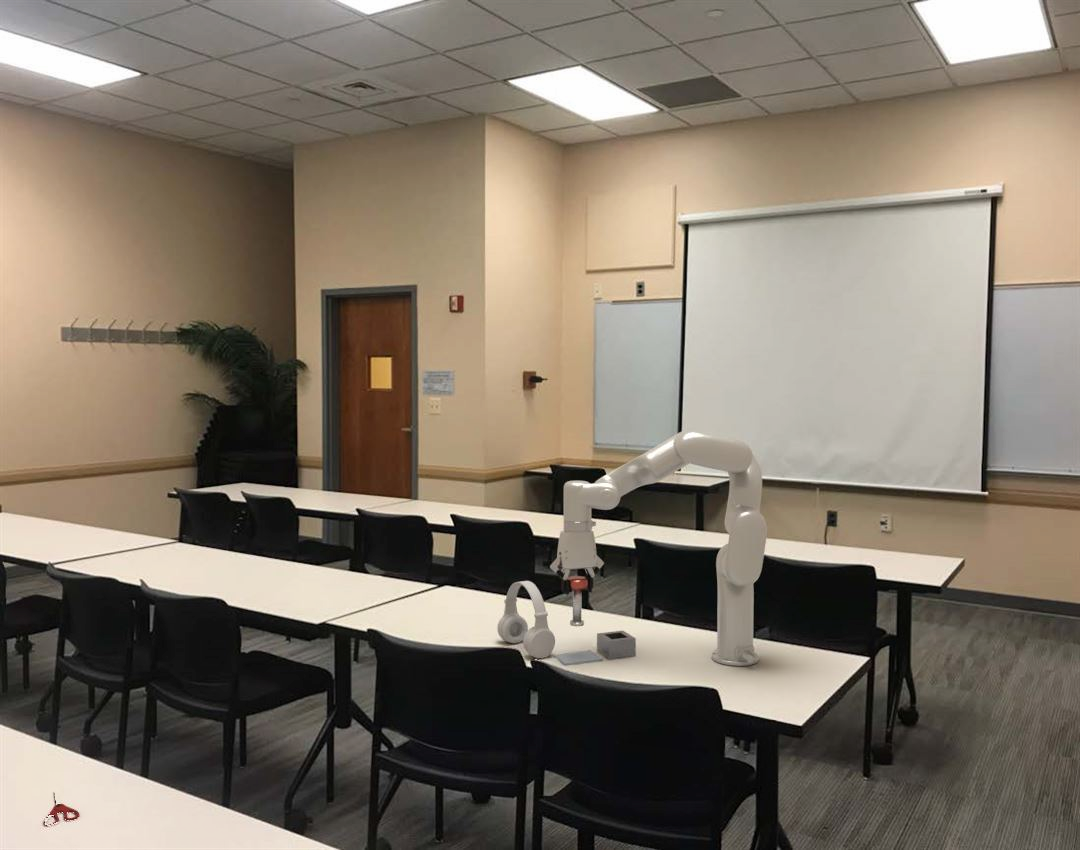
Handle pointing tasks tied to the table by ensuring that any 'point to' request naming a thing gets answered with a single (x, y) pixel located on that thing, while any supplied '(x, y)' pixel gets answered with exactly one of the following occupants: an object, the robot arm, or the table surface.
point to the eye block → (616, 645)
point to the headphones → (516, 628)
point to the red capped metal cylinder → (577, 597)
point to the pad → (578, 657)
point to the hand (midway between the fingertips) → (577, 591)
